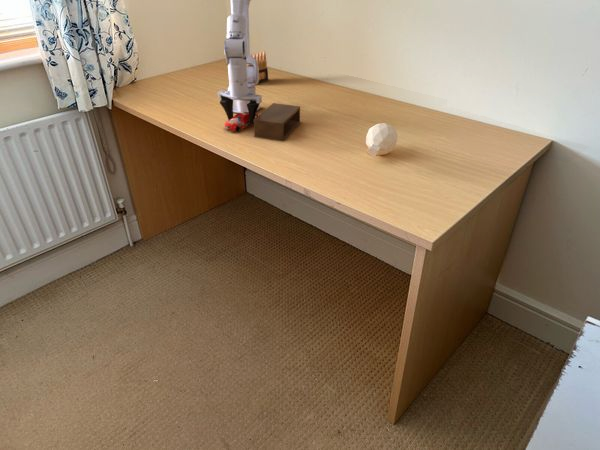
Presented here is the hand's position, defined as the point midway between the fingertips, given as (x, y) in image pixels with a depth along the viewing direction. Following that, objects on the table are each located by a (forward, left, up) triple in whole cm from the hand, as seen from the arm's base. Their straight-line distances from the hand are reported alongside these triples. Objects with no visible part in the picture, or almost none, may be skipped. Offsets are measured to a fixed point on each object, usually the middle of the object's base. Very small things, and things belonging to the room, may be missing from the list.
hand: (241, 121), depth 142 cm
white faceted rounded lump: (+46, -6, -2) cm, 46 cm away
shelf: (+12, +2, -2) cm, 12 cm away
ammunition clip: (-15, +46, -2) cm, 48 cm away
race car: (0, 0, -2) cm, 2 cm away
